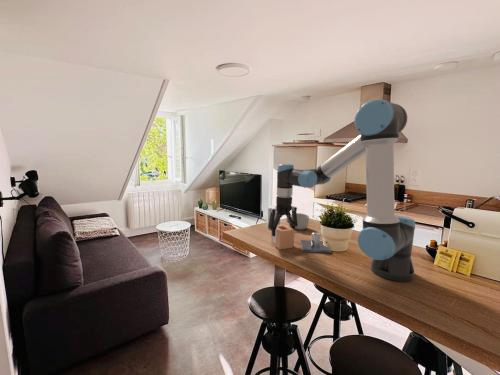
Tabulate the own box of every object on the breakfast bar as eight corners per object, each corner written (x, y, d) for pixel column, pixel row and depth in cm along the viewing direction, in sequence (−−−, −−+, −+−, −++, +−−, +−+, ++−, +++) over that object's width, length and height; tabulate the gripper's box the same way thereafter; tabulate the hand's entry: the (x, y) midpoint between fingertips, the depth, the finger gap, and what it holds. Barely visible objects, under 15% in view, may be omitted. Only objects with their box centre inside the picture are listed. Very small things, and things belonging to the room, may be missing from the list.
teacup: (305, 225, 160) (306, 213, 159) (310, 231, 150) (311, 218, 148) (283, 225, 160) (284, 213, 158) (287, 231, 149) (288, 217, 148)
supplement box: (279, 225, 159) (280, 205, 157) (279, 229, 152) (280, 208, 150) (267, 224, 160) (268, 205, 158) (267, 228, 153) (268, 208, 151)
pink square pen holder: (293, 247, 125) (294, 229, 124) (279, 249, 122) (280, 231, 121) (285, 241, 132) (285, 224, 131) (271, 243, 129) (272, 226, 128)
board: (331, 253, 119) (332, 238, 118) (302, 251, 120) (303, 236, 119) (326, 243, 131) (327, 230, 129) (300, 242, 132) (301, 228, 131)
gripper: (298, 193, 131) (296, 236, 134) (261, 195, 123) (260, 241, 126) (306, 196, 124) (304, 241, 128) (268, 198, 116) (267, 246, 119)
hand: (282, 241), depth 127 cm, fingers closed on pink square pen holder, 8 cm apart
